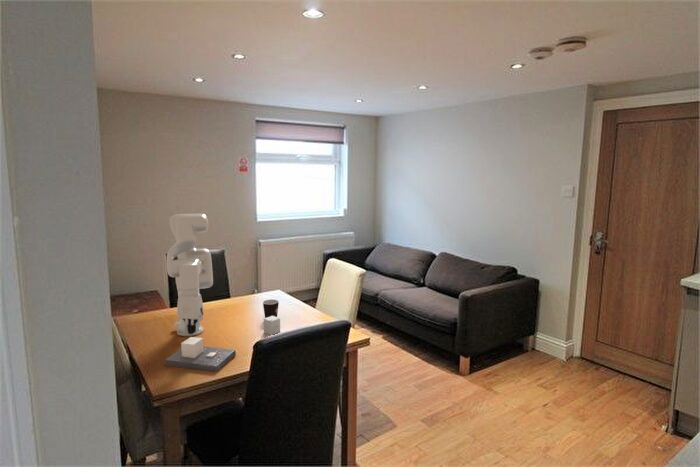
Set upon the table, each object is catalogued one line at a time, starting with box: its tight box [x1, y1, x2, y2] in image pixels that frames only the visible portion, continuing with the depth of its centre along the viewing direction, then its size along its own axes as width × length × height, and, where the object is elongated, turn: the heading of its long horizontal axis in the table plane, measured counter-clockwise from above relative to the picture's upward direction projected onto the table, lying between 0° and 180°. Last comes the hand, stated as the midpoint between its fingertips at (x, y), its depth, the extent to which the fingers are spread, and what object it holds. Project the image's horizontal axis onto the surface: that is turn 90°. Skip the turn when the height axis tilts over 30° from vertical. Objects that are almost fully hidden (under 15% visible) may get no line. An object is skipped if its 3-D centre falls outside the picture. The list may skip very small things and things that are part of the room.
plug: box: [180, 336, 204, 358], centre depth 183 cm, size 6×7×8 cm
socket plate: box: [164, 345, 236, 372], centre depth 182 cm, size 24×16×3 cm, turn 77°
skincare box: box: [263, 316, 281, 336], centre depth 214 cm, size 6×6×7 cm
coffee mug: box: [262, 299, 280, 318], centre depth 232 cm, size 12×9×10 cm
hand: (191, 332), depth 181 cm, fingers closed
